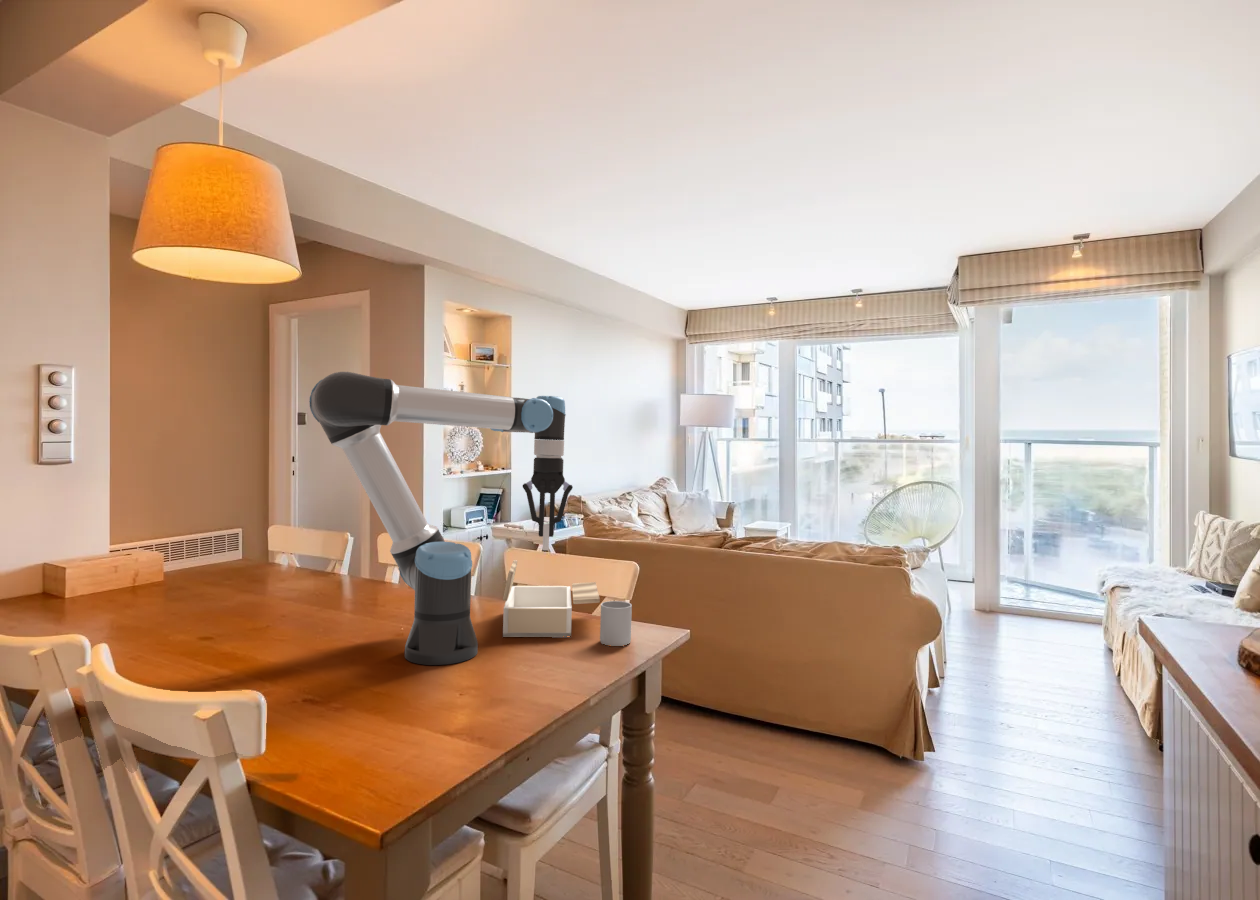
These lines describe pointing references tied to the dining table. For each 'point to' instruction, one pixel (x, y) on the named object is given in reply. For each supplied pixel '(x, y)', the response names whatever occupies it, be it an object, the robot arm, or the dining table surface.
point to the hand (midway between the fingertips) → (545, 549)
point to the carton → (538, 612)
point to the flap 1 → (510, 580)
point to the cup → (615, 623)
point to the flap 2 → (585, 593)
